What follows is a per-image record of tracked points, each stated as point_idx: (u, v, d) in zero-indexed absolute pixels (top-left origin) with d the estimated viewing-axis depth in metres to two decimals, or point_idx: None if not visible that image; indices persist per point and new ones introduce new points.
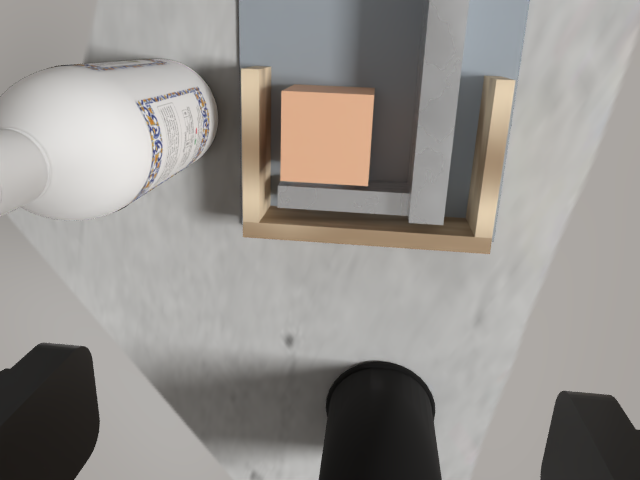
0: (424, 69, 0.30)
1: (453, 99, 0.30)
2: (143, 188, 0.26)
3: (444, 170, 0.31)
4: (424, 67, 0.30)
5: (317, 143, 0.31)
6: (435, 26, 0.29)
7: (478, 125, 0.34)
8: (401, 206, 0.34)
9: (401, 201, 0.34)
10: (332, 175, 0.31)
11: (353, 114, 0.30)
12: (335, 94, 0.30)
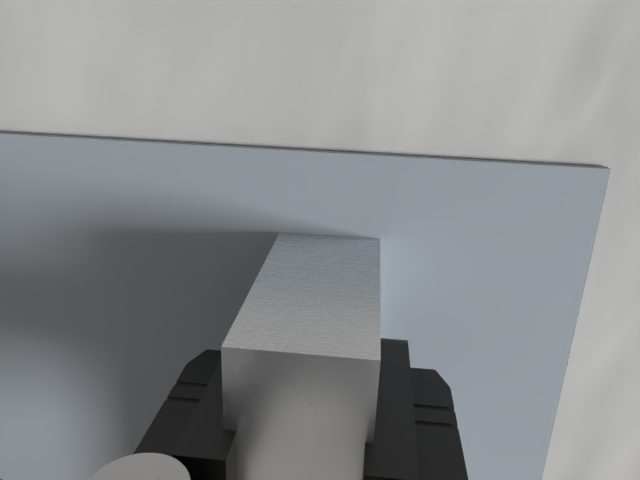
0: None
1: None
2: None
3: None
4: None
5: None
6: None
7: None
8: None
9: None
10: None
11: None
12: None
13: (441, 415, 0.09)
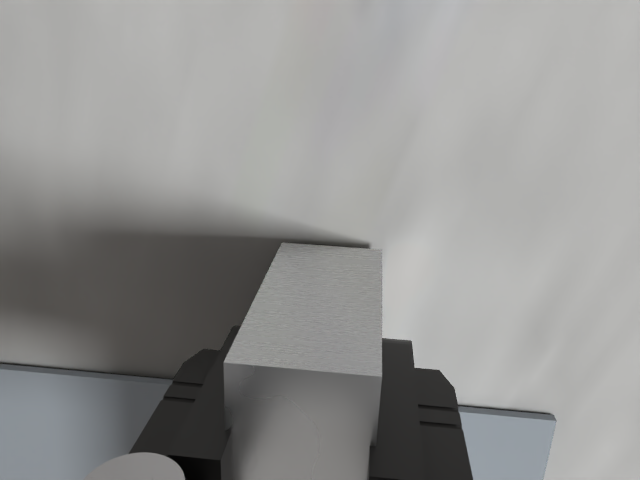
0: None
1: None
2: None
3: None
4: None
5: None
6: None
7: None
8: None
9: None
10: None
11: None
12: None
13: (445, 415, 0.09)
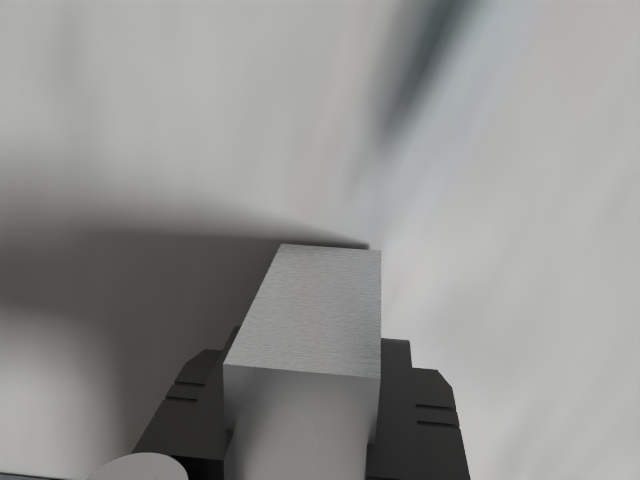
0: None
1: None
2: None
3: None
4: None
5: None
6: None
7: None
8: None
9: None
10: None
11: None
12: None
13: (443, 415, 0.09)
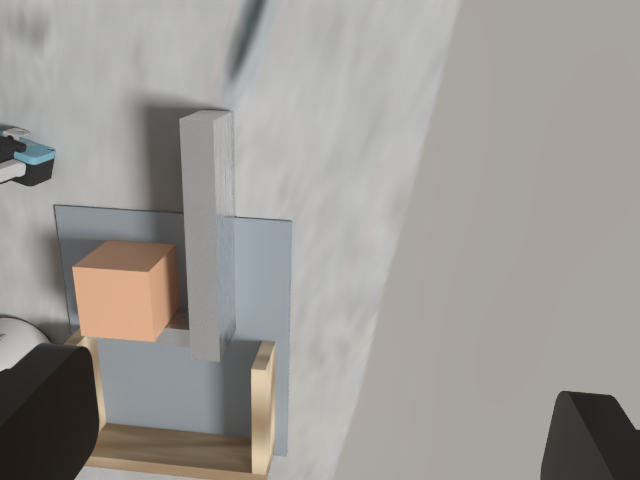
0: (186, 240, 0.35)
1: (213, 264, 0.35)
2: None
3: (214, 318, 0.36)
4: (186, 238, 0.35)
5: (107, 307, 0.36)
6: (190, 207, 0.34)
7: None
8: None
9: None
10: (123, 332, 0.37)
11: (133, 286, 0.35)
12: (116, 271, 0.35)
13: None
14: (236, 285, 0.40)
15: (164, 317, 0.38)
